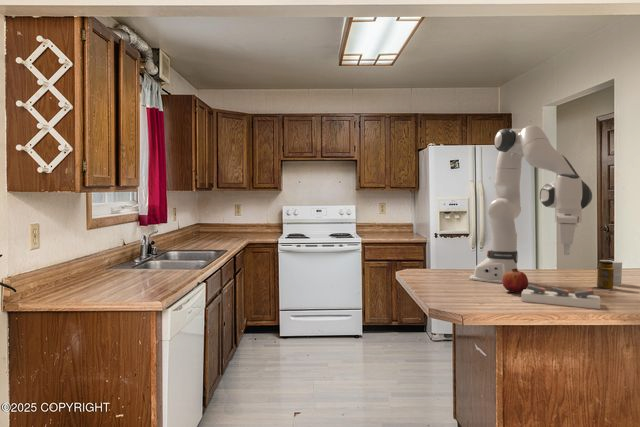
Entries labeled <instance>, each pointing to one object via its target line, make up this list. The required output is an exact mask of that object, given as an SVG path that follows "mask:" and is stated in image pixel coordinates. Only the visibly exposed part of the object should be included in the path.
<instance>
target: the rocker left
mask: <svg viewBox="0 0 640 427" xmlns="http://www.w3.org/2000/svg"><path fill="white" fill-rule="evenodd" d="M526 290H533V291H537V292H540V293H545V291H546V288H545V287H542V286H541V287H540V286H537V285H534V284H529V283H528V287H527V289H526Z"/></svg>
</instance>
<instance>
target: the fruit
mask: <svg viewBox="0 0 640 427" xmlns="http://www.w3.org/2000/svg"><path fill="white" fill-rule="evenodd" d="M502 282H503V283H502V286H503V288H504V289H505V290H506V291H508V292H511V293H514V294H516V293H522V291H523V290H524V289H526V290H528V289H527V288H528V285H529V279H528V277H527V275H526V274H525V273H524V272H523V271H519V270H518V268H517V269H512V271H509V272H507V273H505V274H504V276H503V279H502Z"/></svg>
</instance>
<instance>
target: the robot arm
mask: <svg viewBox="0 0 640 427" xmlns="http://www.w3.org/2000/svg"><path fill="white" fill-rule="evenodd" d="M493 145H494V147H495V149H496V150H497V151H498V155H497V159H496V164H495V174H494V175H495V176H494V187H495V196H496V198H495V199H494V200H493V201H491V202H490V203H489V205H488V208H487V213H488V216H489V223H490V230H491V249H489V250H487V252H486V253H487V254H486V256H487V257H486V258H485V259H483V260H482V261H481V262H479V263H478V264H476V265H475V268H474V272H473V274H470V275H469V279H470V280H471V281H477V282H480V281H481V282H487V283H495V284H496V283H497V284H503V282H502V279H503V276H504V274H505V273H507V272H509V271H512V269H518V260H519V253H518V250H517V248H518V247H517V246H518V245H517V243H518V242H517V240H518V239H517V238H518V234H517V230H516V223H515V219H517V218H518V217H519V216H520V215H521V212H522V208H521V207H522V206H521V191H520V190H521V189H520V186H521V174H522V160H523V157H524V159H525V161H526V162H527V163H528V165H530V166H531V167H533V168H536V169H541V170H545V171H549V172H552V173H554V174H557V177H556V178H555V180H553V181H551V182H549V183H546V184H545V185H543V186H542V188H541V189H540V190H539V200H540V202H541V204H542V205H543V206H544V207H545V208H546V207H547V208H552V209H554V223H555V222H556V223H557V224H558V225H557V226H558V227H559V237H560V238H559V239H560V243H561V245H563V255H565V256H570V252H571V250H570V248H571V245H572V244H573V243H574V237H575V230H576V228H578V224H579V223H582V217H583V216H582V213H583V212H582V211H583V209H585V208H586V207H588V205H590V204H591V202H592V199H593V192H592V189H591V188H590V186H588V184H587V183H585V181H583V179H582V178H581V176H580V175H579V174H578V173H577V171H576V170H575V168H574V166H573V165H572V164H571V162H570V161H569V160H568V158H566V156H565V155H563V154H561V153H560V152H558V151H557V149H555V147H554V146H553V145H552V144H551V142H550V140H549V138H548V137H547V135H546V133H545V132H544V130H543V129H542V128H541V127H540V126H538V125H535V124H533V125H528V126H525V127H523V128H502V129H500V130H498V131H497V132H496V134H495V137H494V143H493Z"/></svg>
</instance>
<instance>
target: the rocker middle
mask: <svg viewBox="0 0 640 427" xmlns="http://www.w3.org/2000/svg"><path fill="white" fill-rule="evenodd" d="M550 292H556V293H560V294H563V295H567V296H568V295H569V293H570V290H568V289H564V288H561V287H556V286H553V285H551V288H550Z"/></svg>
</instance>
